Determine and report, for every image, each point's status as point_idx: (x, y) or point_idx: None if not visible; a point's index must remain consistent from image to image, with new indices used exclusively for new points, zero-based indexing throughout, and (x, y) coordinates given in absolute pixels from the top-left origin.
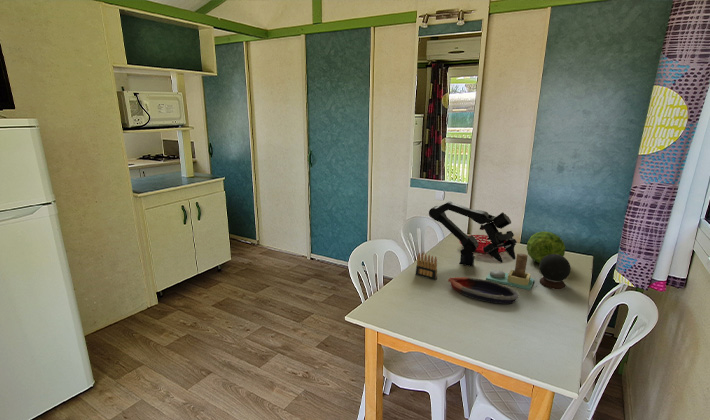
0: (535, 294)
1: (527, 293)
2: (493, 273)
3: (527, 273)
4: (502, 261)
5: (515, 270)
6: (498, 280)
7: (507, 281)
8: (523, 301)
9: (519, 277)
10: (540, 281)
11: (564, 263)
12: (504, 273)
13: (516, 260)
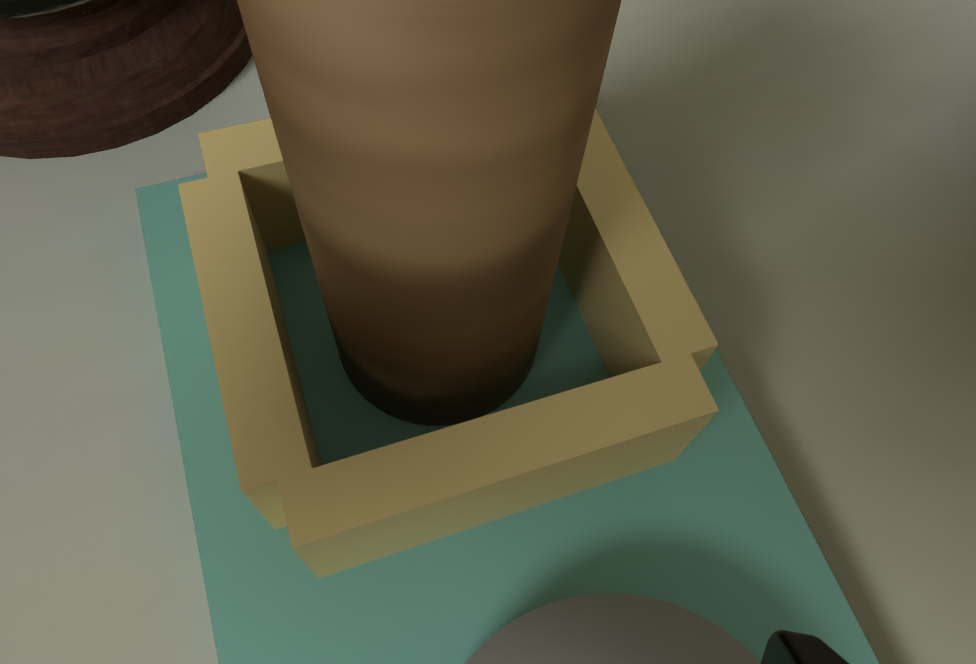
0: (636, 28)
1: (709, 97)
2: None
3: (224, 183)
4: (804, 644)
5: (552, 258)
6: (828, 605)
7: (689, 446)
8: (966, 43)
9: (591, 196)
10: (159, 99)
11: None
12: (506, 646)
13: (588, 22)
